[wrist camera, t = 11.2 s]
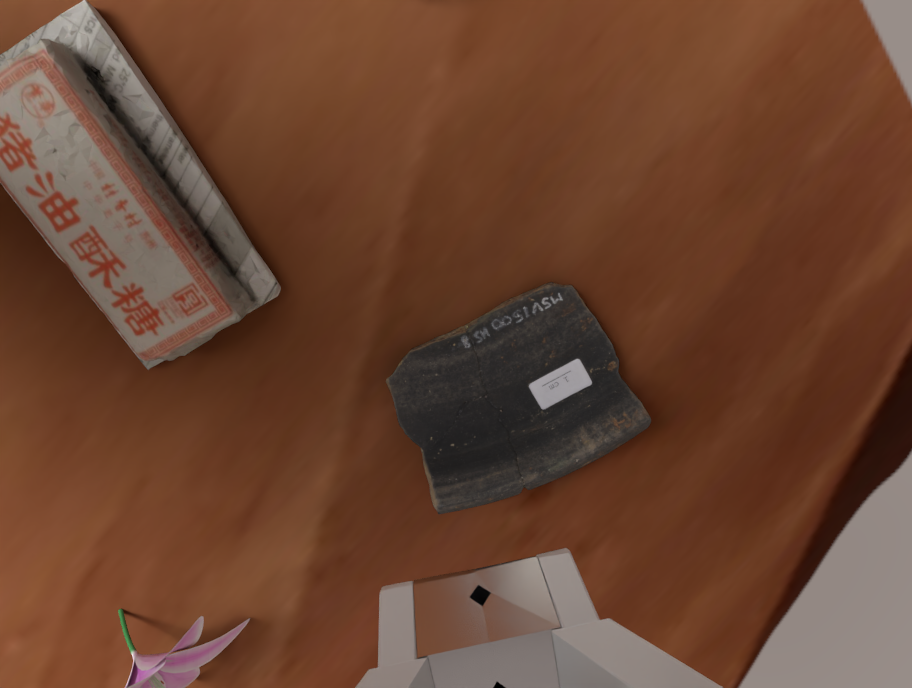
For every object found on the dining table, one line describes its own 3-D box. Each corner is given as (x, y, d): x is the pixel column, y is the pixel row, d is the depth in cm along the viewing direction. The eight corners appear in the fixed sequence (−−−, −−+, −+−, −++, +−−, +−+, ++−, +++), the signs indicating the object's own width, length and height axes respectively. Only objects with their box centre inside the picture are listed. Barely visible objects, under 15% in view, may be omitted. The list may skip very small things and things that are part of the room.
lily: (120, 696, 49) (144, 819, 43) (-5, 642, 41) (0, 782, 35) (252, 590, 52) (295, 690, 45) (157, 520, 44) (192, 628, 37)
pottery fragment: (574, 265, 41) (594, 279, 37) (637, 416, 45) (661, 443, 41) (368, 365, 42) (366, 389, 38) (447, 505, 46) (452, 541, 42)
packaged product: (276, 308, 36) (125, 395, 36) (289, 288, 40) (154, 364, 41) (53, -18, 30) (-122, 93, 30) (97, 1, 34) (-56, 97, 35)
